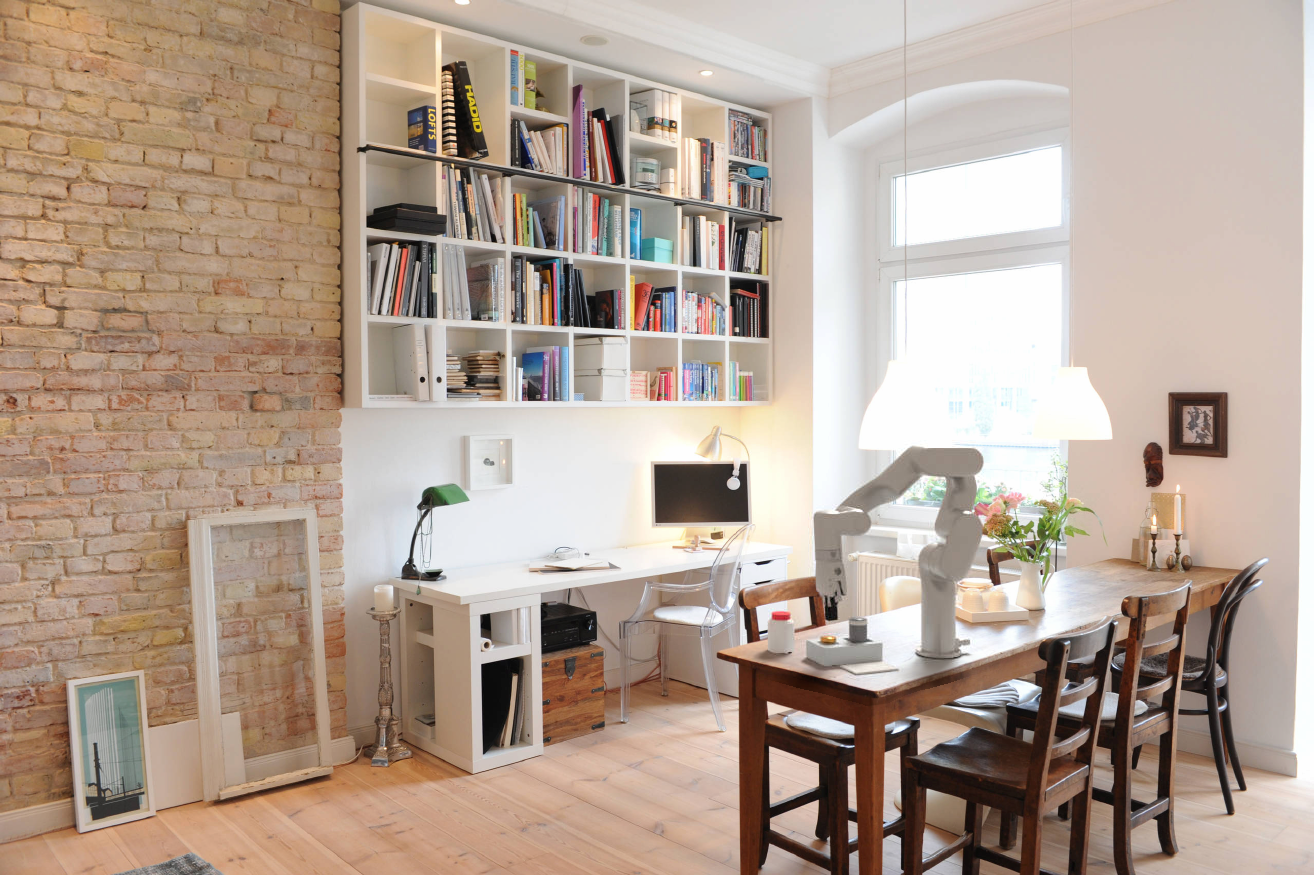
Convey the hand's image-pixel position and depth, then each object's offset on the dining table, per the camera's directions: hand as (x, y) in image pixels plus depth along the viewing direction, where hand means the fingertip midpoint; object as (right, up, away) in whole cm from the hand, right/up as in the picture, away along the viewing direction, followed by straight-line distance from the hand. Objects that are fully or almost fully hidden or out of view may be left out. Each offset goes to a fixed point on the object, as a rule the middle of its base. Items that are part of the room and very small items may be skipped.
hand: (831, 619), depth 284 cm
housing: (+4, -11, +2) cm, 12 cm away
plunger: (-1, -11, 0) cm, 11 cm away
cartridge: (+8, -11, +3) cm, 14 cm away
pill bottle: (-13, -11, +12) cm, 21 cm away
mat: (+9, -12, -9) cm, 17 cm away
